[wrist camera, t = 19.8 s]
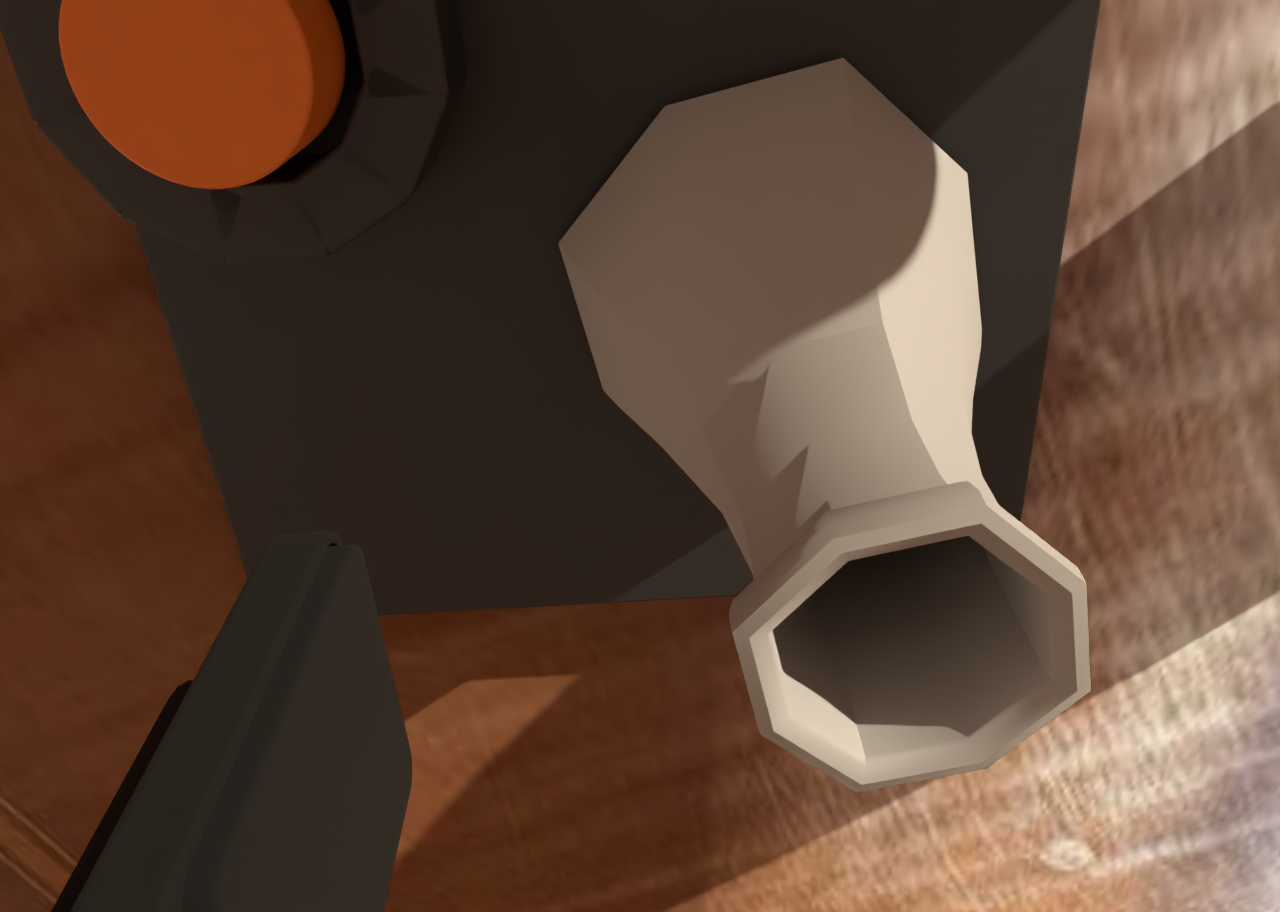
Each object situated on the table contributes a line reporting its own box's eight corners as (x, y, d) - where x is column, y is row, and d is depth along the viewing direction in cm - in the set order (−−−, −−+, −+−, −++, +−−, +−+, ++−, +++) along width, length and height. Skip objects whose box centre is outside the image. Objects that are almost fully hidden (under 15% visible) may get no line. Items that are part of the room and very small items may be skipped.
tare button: (157, 167, 15) (104, 197, 14) (87, -71, 13) (17, -67, 12) (366, 153, 15) (336, 182, 13) (319, -88, 13) (279, -85, 12)
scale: (275, 589, 22) (228, 681, 20) (42, -178, 15) (-81, -193, 12) (994, 548, 22) (1043, 637, 19) (1107, -257, 15) (1210, -289, 12)
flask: (1042, 337, 18) (1427, 748, 9) (703, 519, 20) (762, 1002, 11) (865, -33, 15) (1190, 67, 6) (485, 223, 17) (334, 570, 8)
